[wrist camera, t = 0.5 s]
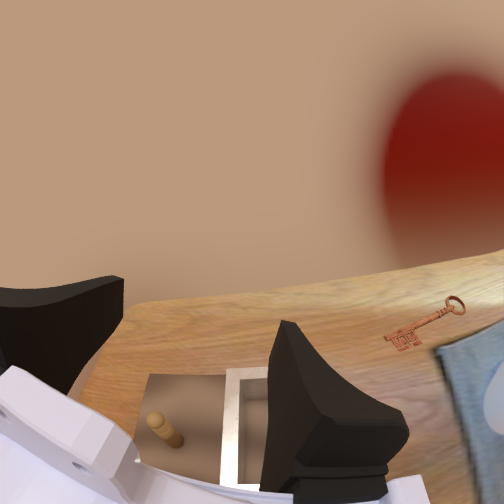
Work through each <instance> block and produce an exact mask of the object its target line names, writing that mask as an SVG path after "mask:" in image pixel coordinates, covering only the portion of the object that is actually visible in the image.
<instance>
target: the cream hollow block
mask: <svg viewBox="0 0 504 504" xmlns="http://www.w3.org/2000/svg"><path fill="white" fill-rule="evenodd" d="M267 374H268V367H255V368H237V369H227V372H226V386H225V401H224V417H223V434H222V451H221V470H220V485H222V486H227V487H233V488H239V489H246V490H253V491H259V485H260V484H252V485H245V423H246V400H254V399H268V388H267Z"/></svg>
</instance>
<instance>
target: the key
mask: <svg viewBox="0 0 504 504" xmlns="http://www.w3.org/2000/svg"><path fill="white" fill-rule="evenodd" d="M449 299H454V300H457V301H458V302H460V303H461V304H462V306H463V308H464V311H463V312H458V311H456V310H454V309H453V308H454V307H455V306H453V305H451V306H450V304H449V301H448V300H449ZM446 304H447V308H444V309H442V310H440V311H437V312H436V313H434V314H432V315H430V316H428V317H426V318H424V319H422V320H419V321H417V322H415V323H413V324H411V325H408V326H406V327H404V328H402V329H399V330H397V331H395V332H392V333H390V334H388V335H385V336H384V338H385V339H386V341H389V340H391V341H392V342H393V343H394V345H395V346H396V348H399V347H401V346H403V345H405V344H407V343H406V341H407V342H408V343H409V345H410V346H411V347H412V345H411V344H410V342H412V341H414V340H416V339H418V338H419V337H418V336H417V334H416V333H415V331H414V329H416V328H418V327H421V326H423V325H425V324H427V323H429V322H431V321H433V320H435V319H437V318H440V317H441V316H443V315H444V314H447V313H448V312H449V311H451V312H453V313H454V314H456V315H463V314H464V313H465V310H466V309H465V305H464V303H463V302H462V301H461V300H460V299H459V298H458V297H456V296H448V297H447V299H446ZM411 332H412V333H413V334H412V333H411ZM409 333H411V334H409ZM407 334H409V335H407ZM405 335H407V338H408V339H409V340H410V342H409V341H408V339H407V338H406V336H405ZM413 335H414V336H413ZM402 336H403V337H404V338H405V339H406V341H405V339H404V338H400V337H402ZM397 338H400V339H398V341H399V343H398V342H397V340H396V339H397ZM412 344H413V346H417V345H420V344H423V343H422V342H421V340H420V339H419V340H417V341H415V342H413V343H412ZM409 348H410V347H409V346H408V345H407V346H404V347H402V348H400V349H398V350H399V352H400V351H403V350H406V349H409Z"/></svg>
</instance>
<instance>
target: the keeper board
mask: <svg viewBox="0 0 504 504" xmlns="http://www.w3.org/2000/svg"><path fill="white" fill-rule="evenodd" d="M225 386H226V375H170V374H149V378H148V382H147V385H146V389H145V393H144V397H143V401H142V405H141V409H140V413H139V417H138V422H137V426H136V430H135V435H134V439H133V442H134V444H135V446H136V447H137V449H138V451H139V454H140V460H141V462H142V463H144V464H146V465H148V466H151V467H154V468H157V469H160V470H163V471H166V472H169V473H173V474H176V475H180V476H183V477H187V478H191V479H195V480H199V481H203V482H207V483H212V484H217V485H220V470H221V451H222V434H223V417H224V401H225ZM267 428H268V399H254V400H246V423H245V485H252V484H260V480H261V474H262V467H263V461H264V453H265V446H266V437H267Z"/></svg>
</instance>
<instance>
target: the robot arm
mask: <svg viewBox="0 0 504 504" xmlns="http://www.w3.org/2000/svg"><path fill="white" fill-rule="evenodd" d="M123 293H124V279H123V278H120V277H117V276H113V275H111V276H104V277H99V278H95V279H91V280H86V281H82V282H77V283H73V284H68V285H62V286H57V287H50V288H41V289H12V288H2V287H0V504H430V502H429V499H428V496H427V493H426V490H425V486H424V484H423V481H422V478H421V475H419V474H418V475H413V476H407V477H402V478H396V479H393V480H390V481H388V482H386V480H385V476H384V475H386V474H387V473H388V471H389V470H388V466H387V463H388V462H389V461H390V460H391V459H392V458H393V457H394V456H395V455H396V454H397V453H398V452H399V451H400V450H401V449H402V447H403V446H404V445H405V443H406V442H407V440H408V437H409V428H408V426H407V424H406V421H405V419H404V417H403V414H402V412H401V411H400V410H397V409H395V408H393V407H391V406H388V405H386V404H384V403H381V402H379V401H377V400H376V399H374V398H372V397H370V396H368V395H367V394H365V393H363V392H362V391H360V390H359V389H357V388H356V387H354V386H353V385H352V384H350V383H349V382H348V381H346V380H345V379H344V378H343V377H341V376H340V375H339V374H338V373H337V372H336V371H335V370H334V369H332V368H331V367H330V366H329V365H328V364H327V363H326V361H325V360H324V359H323V358H322V357H321V356H320V355H319V354H318V352H317V351H316V350H315V349H314V347H313V346H312V345H311V344H310V342H309V341H308V340H307V338H306V337H305V335H304V334H303V333H302V331H301V330H300V328H299V327H298V326H297V324H296V323H294V322H289V321H284V320H281V323H280V326H279V329H278V333H277V336H276V339H275V342H274V345H273V348H272V351H271V354H270V357H269V365H268V374H267V388H268V428H267V437H266V446H265V453H264V461H263V467H262V474H261V480H260V485H259V491H253V490H246V489H239V488H233V487H227V486H222V485H217V484H212V483H207V482H203V481H199V480H195V479H191V478H187V477H183V476H180V475H176V474H173V473H169V472H166V471H163V470H160V469H157V468H154V467H151V466H148V465H146V464H144V463H142V462H141V460H140V454H139V451H138V449H137V447H136V446H135V444H134V442H133V440H132V439H131V437H130V436H129V435H128V434H127V433H126V432H125V431H124V430H123V429H121V428H120V427H119V426H118V425H117V424H116V423H115V422H113V421H111V420H110V419H108V418H106V417H105V416H103V415H101V414H100V413H98V412H97V411H95V410H93V409H91V408H89V407H87V406H85V405H83V404H81V403H79V402H77V401H75V400H73V399H71V398H69V397H68V396H67V394H68V392H69V391H70V389H71V387H72V385H73V384H74V382H75V380H76V378H77V377H78V375H79V374H80V372H81V370H82V369H83V367H84V366H85V365H86V364H87V362H88V361H89V360H90V359H91V357H92V356H93V355H94V354H95V353H96V352H97V351H98V349H99V348H100V347H101V346H102V345H103V344H104V343H105V341H106V340H107V339H108V338H109V337H110V336H111V335H112V333H113V332H114V331H115V329H116V328H117V326H118V325H119V323H120V321H121V320H122V318H123Z"/></svg>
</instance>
